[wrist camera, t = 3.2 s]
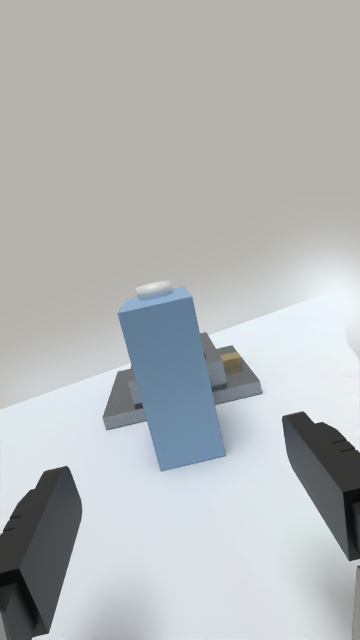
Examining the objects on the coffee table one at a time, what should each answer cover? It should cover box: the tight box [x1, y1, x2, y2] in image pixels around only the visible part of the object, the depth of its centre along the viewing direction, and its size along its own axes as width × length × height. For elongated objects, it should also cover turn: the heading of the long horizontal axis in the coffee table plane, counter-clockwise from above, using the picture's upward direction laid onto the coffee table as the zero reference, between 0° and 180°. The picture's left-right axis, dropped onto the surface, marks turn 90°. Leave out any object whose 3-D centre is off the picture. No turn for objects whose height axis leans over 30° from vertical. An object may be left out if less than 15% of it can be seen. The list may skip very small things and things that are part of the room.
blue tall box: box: [118, 280, 225, 471], centre depth 21 cm, size 4×5×12 cm
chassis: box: [103, 333, 262, 430], centre depth 30 cm, size 14×10×4 cm
